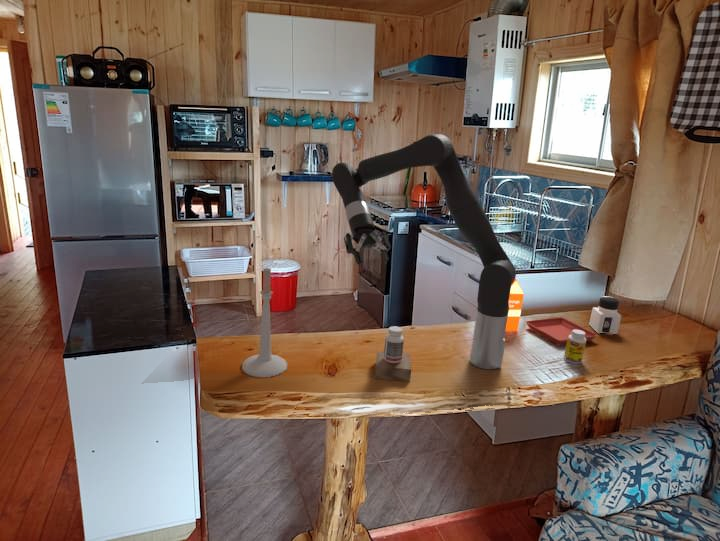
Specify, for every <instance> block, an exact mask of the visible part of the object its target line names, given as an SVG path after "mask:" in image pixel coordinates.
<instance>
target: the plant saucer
mask: <svg viewBox="0 0 720 541" xmlns="http://www.w3.org/2000/svg"><path fill="white" fill-rule="evenodd" d="M525 324H526V326H527V327H528V328H529V330H531V331H532V330H533V331H532V332H534V333H536V334H537V333H538V334H537V335H539V334H540V335H539V336H541V337H543V338H545V339H546V340H548V341H550V342H552V344H555V345H556V346H564V345H567V340H568V336H569V335H571V334H572V330H575V329H577V330H581V331H584V332H585V338H586V341H588V342H590V341H593V339H595V338H596V337H598V333H597V334H596V333H594V332H592V331H591V330H588V329H586V328H584V327H582V326H580V325H579V324H577V323H574V322H573V321H570V320H568V319H567V318H565V317H561V316H560V317H552V318H550V317H549V318H541V319H534V320H526V321H525Z"/></svg>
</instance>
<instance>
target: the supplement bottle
mask: <svg viewBox="0 0 720 541" xmlns="http://www.w3.org/2000/svg"><path fill="white" fill-rule="evenodd" d="M586 345H587V342H586V338H585V332H584V331H581V330H577V329H575V330H572V334H571V335H569V336H568V340H567V344H566V346H565V350H564V354H563V355H564V356H563V358H564V360H565V361H566V362H568V363H571V364H573V365H577V364H578V365H579V364H581V363H582V362H583V359H584V353H585V349H586Z"/></svg>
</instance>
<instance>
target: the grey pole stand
mask: <svg viewBox="0 0 720 541" xmlns="http://www.w3.org/2000/svg"><path fill="white" fill-rule="evenodd" d="M271 270H272V269H271V268H268V267H266V268H263V271H262V272H263V277H262V290H260V291H259V293H260V294H261V299H262V300H263V301H262V302H263V303H262V307H261V308H262V310H261V323H260V334H259V336H260V338H259V348H258V354H254V355H251V356H249V357H247V358H246V359H245V360H244V361H243V362H242V364H241V365H242V366H241V369H242V371H243V372H244V373H246V374H247V375H249V376H252V377H255V378H272V377H271V376H274V377H276V375H277V376H280V375H281V373H282V374H284V373H285V372H286V371H285V370H287V369H288V362H287V361H286V360H285V359H284V358H283V357H281V356H279V355H276V354H273V353H272V340H271V339H272V338H271V337H272V336H271V334H272V333H271V304H270V301H271V299H272V295H273V293H274V292H273V291H272V290H271V278H272V276H271V275H272V274H271V272H272V271H271ZM284 371H285V372H284ZM279 374H280V375H279Z"/></svg>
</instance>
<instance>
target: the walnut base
mask: <svg viewBox="0 0 720 541" xmlns="http://www.w3.org/2000/svg"><path fill="white" fill-rule="evenodd" d="M375 358H376V359H375V370H374V371H375V372H374V380H384V381H395V382H405V383H406V382H407V383H410V382H411V374H412V362H411V361H412V358H411V353H406V352H405V353H404V352H403V353H402V361H401V362H399V363H389V362H387V361H385V360H384V351H383V350H380V351H379V350H377V351H376V356H375Z"/></svg>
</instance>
